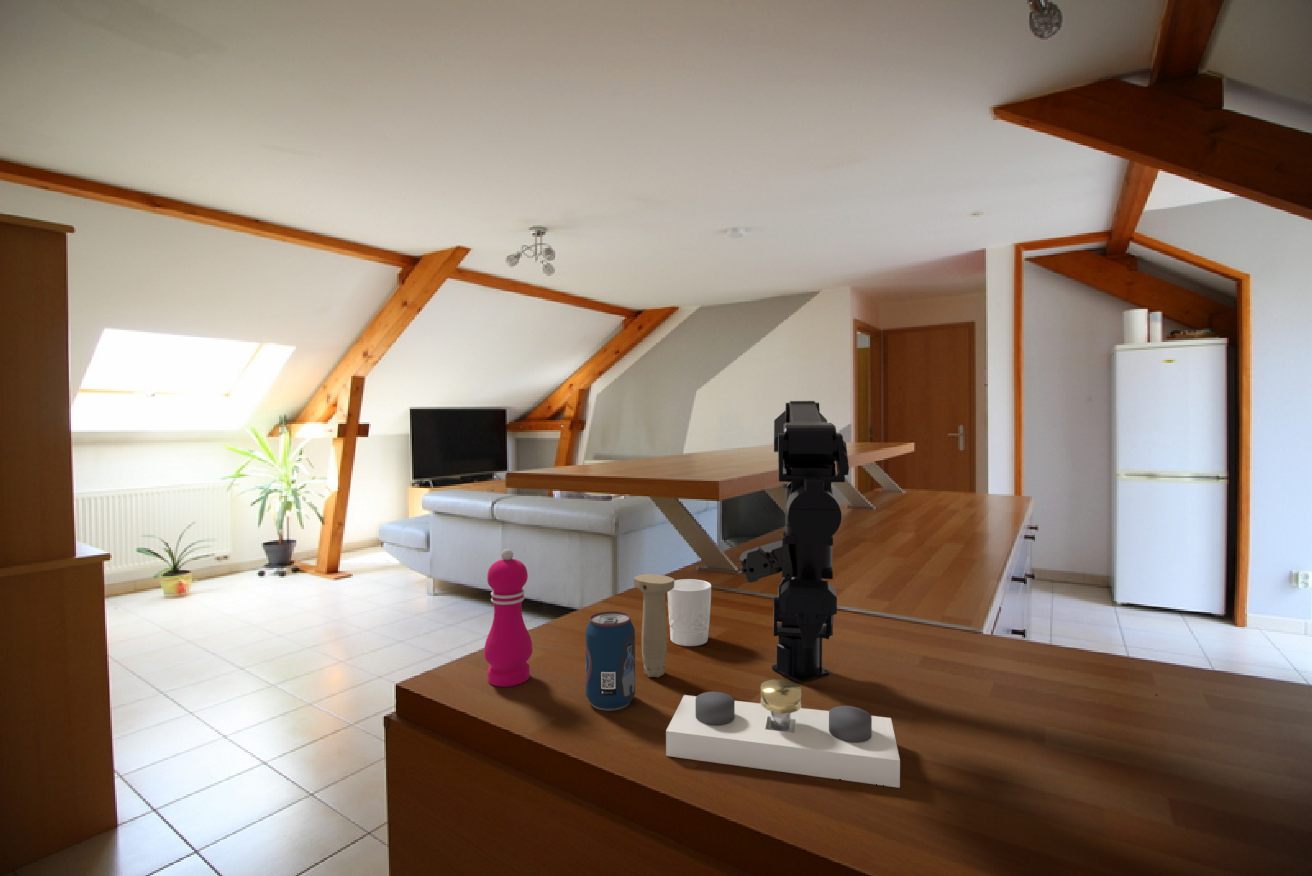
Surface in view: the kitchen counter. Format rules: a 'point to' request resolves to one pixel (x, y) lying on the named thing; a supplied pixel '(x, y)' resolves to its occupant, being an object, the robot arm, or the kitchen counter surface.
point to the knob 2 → (850, 724)
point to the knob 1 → (715, 708)
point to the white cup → (689, 612)
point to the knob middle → (780, 701)
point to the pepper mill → (507, 624)
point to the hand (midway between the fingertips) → (808, 646)
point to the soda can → (610, 660)
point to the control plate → (785, 744)
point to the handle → (654, 621)
